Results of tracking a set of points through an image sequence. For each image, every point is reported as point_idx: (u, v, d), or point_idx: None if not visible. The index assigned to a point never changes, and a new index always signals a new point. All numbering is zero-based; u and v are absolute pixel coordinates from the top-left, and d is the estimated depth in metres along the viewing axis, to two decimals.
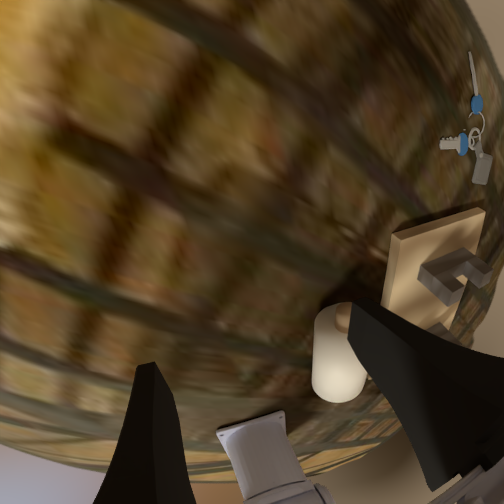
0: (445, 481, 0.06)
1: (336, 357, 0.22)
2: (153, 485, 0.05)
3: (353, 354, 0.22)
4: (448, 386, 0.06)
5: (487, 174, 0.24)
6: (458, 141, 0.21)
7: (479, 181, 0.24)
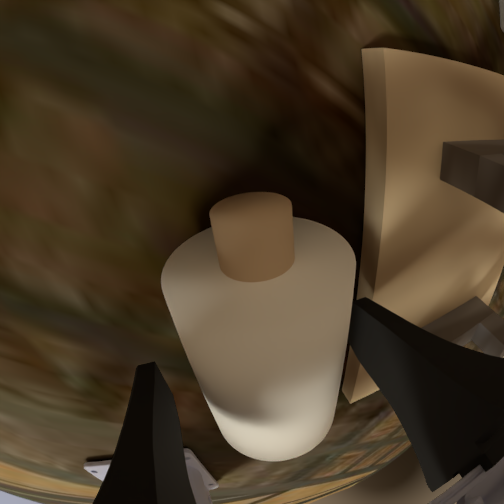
0: (445, 481, 0.06)
1: (219, 359, 0.07)
2: (153, 485, 0.05)
3: (275, 348, 0.07)
4: (448, 386, 0.06)
5: None
6: None
7: None
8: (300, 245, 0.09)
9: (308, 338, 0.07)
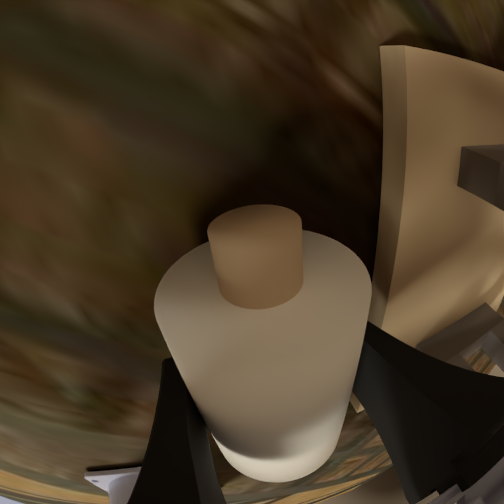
0: (422, 497, 0.06)
1: (208, 390, 0.06)
2: (193, 478, 0.05)
3: (268, 388, 0.06)
4: (423, 403, 0.06)
5: None
6: None
7: None
8: (311, 266, 0.08)
9: (306, 379, 0.06)
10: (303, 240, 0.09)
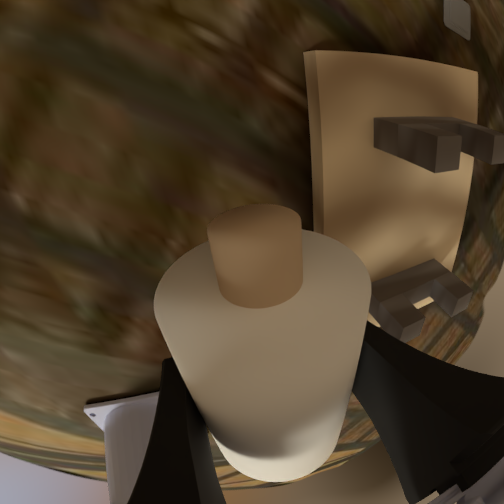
0: (422, 497, 0.06)
1: (209, 388, 0.06)
2: (193, 478, 0.05)
3: (268, 387, 0.06)
4: (423, 403, 0.06)
5: (467, 24, 0.13)
6: None
7: (456, 28, 0.13)
8: (311, 266, 0.08)
9: (306, 379, 0.06)
10: (303, 239, 0.09)
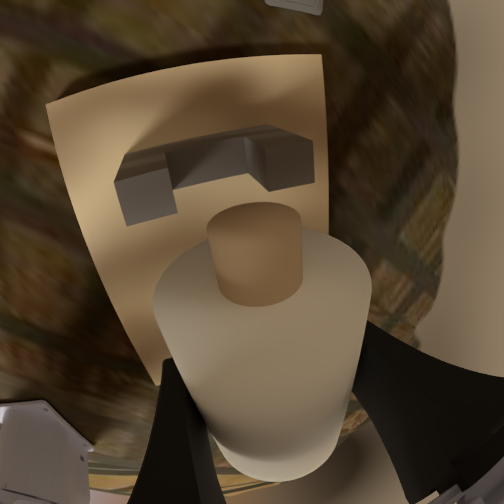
0: (423, 497, 0.06)
1: (209, 388, 0.06)
2: (193, 478, 0.05)
3: (269, 386, 0.06)
4: (423, 403, 0.06)
5: None
6: None
7: (290, 3, 0.12)
8: (310, 263, 0.08)
9: (307, 377, 0.06)
10: (302, 238, 0.09)
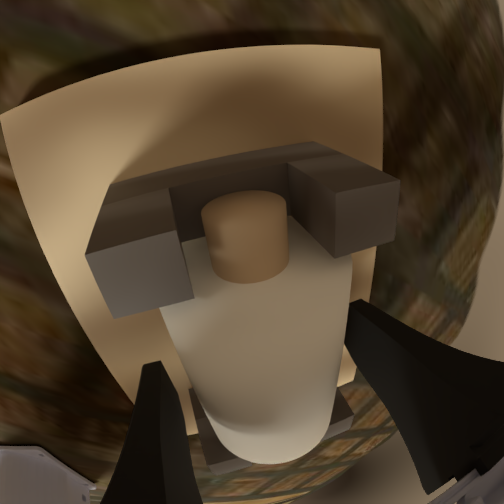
0: (440, 484, 0.06)
1: (202, 359, 0.07)
2: (162, 484, 0.05)
3: (257, 354, 0.06)
4: (443, 389, 0.06)
5: None
6: None
7: None
8: (297, 247, 0.08)
9: (292, 346, 0.06)
10: (290, 225, 0.09)
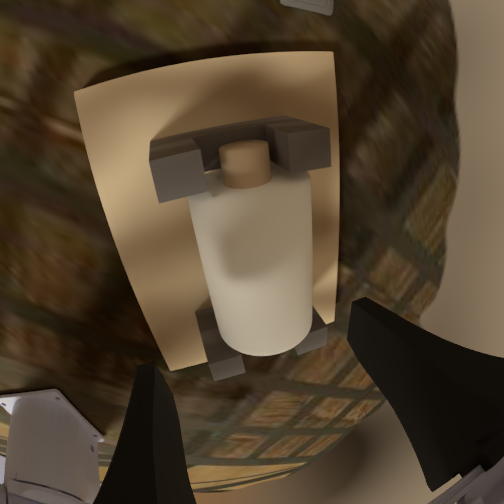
0: (445, 481, 0.06)
1: (235, 233, 0.11)
2: (153, 485, 0.05)
3: (270, 218, 0.11)
4: (448, 386, 0.06)
5: None
6: None
7: (303, 4, 0.13)
8: (273, 172, 0.13)
9: (288, 212, 0.11)
10: None
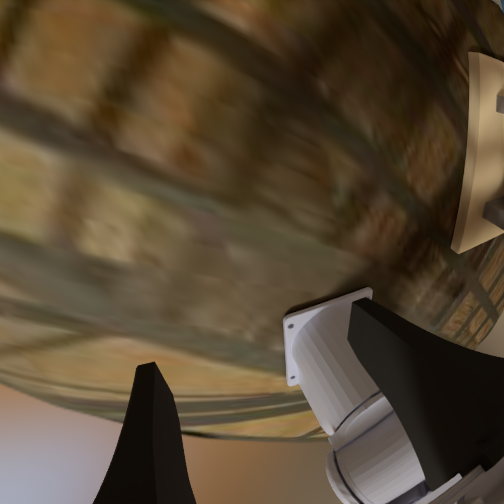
0: (445, 481, 0.06)
1: None
2: (153, 485, 0.05)
3: None
4: (448, 385, 0.06)
5: None
6: (499, 0, 0.14)
7: None
8: None
9: None
10: None
